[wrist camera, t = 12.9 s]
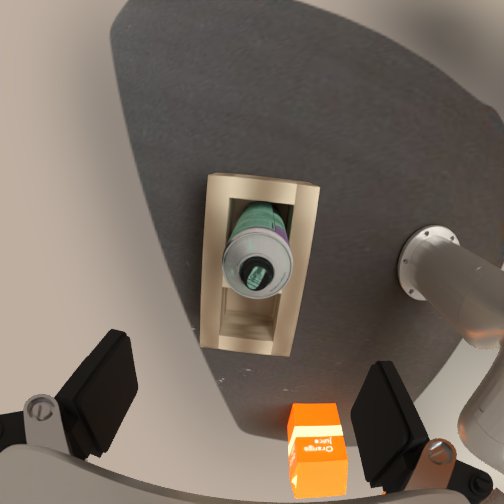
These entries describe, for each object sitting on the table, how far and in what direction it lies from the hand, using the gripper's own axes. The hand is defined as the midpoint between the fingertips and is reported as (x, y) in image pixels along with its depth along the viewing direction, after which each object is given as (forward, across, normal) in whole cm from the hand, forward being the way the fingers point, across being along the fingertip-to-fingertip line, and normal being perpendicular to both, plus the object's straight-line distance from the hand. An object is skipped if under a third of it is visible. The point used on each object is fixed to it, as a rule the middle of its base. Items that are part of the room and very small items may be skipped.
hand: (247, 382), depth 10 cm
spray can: (+30, 0, 0) cm, 30 cm away
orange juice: (+31, -14, +38) cm, 51 cm away
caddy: (+31, 0, +5) cm, 31 cm away
